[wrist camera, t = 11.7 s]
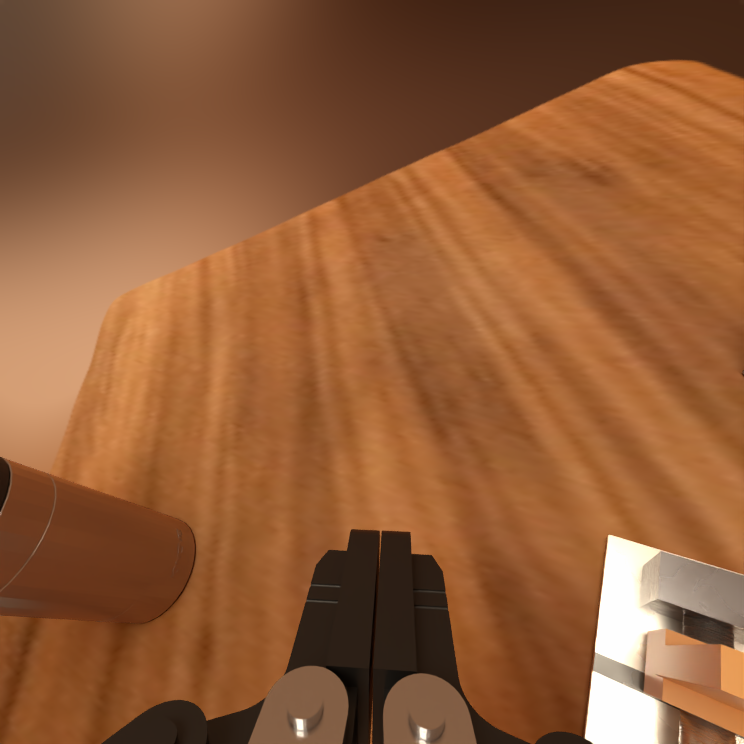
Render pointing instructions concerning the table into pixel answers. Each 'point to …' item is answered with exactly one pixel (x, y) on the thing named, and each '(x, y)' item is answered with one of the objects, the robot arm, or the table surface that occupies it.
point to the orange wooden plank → (696, 677)
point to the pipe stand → (629, 641)
